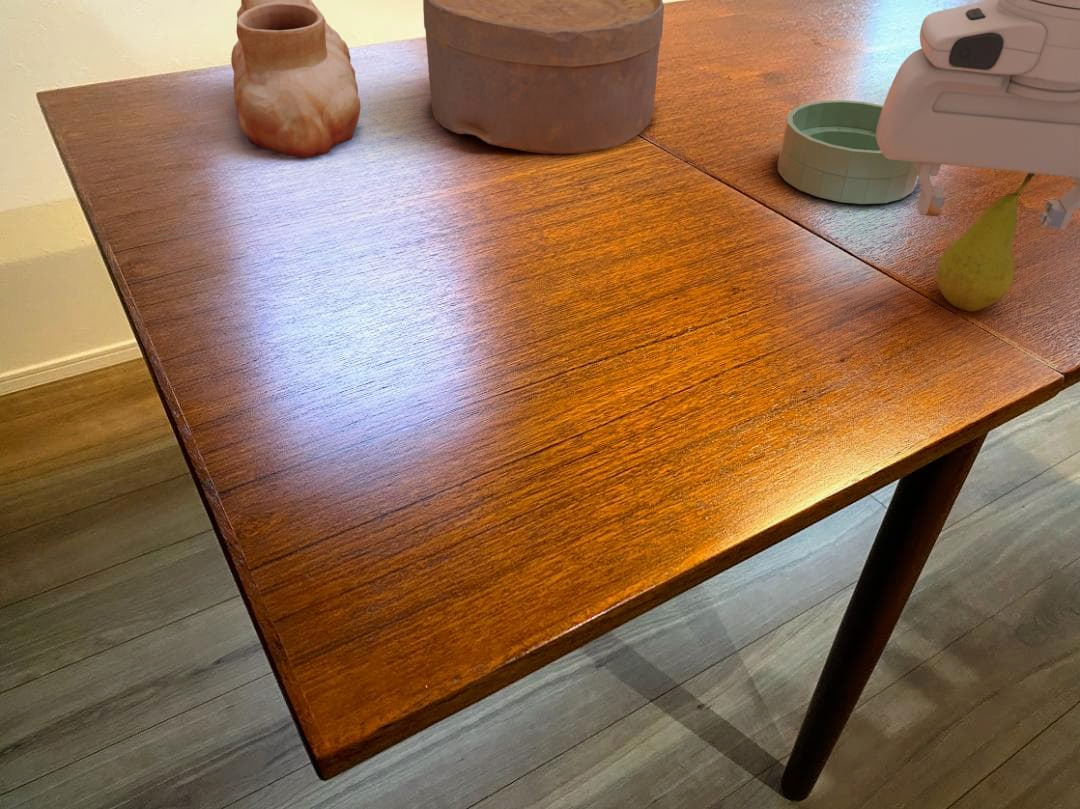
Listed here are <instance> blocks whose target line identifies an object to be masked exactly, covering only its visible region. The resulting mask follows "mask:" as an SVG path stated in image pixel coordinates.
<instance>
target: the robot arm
mask: <svg viewBox="0 0 1080 809" xmlns="http://www.w3.org/2000/svg"><path fill="white" fill-rule="evenodd" d="M919 44H920V47H921V48H919V49H917V50H915V51H913V52H912V53H910V55H908V56H907V57H906V58H905V60H903V62H902V63H901V65H900V66H899V68H898V70H897V72H896V74H895V76H894V78H893V80H892V83H891V85H890V88H889V90H888V92H887V95H886V97H885V100H884V103H883V108H882V111H881V114H880V117H879V120H878V124H877V128H876V140H877V144H878V146H879V148H880V150H881V151H882V153H883V155H884V156H885V157H886V158H888V159H894V160H904V161H914V162H915V166H916V170H917V173H918V180H919V183H920V186H921V191H920V193H919V194H920V195H919V198H918V201H917V206H916V211H917V213H918V215H919V216H924V217H925V216H927V217H939V216H940V215H941V212H942V210H941V208H942V207H943V206H944V203H945V201H946V197H945V196H946V195H945V194H944V190H943V189H942V188H939V187H933V185H932V182H931V179H930V177H937V176H938V175H939V172H940V169H941V165H947V166H955V167H966V168H967V167H968V168H974V169H975V168H976V169H985V170H994V171H1005V172H1015V173H1027V174H1028V173H1035V175H1045V176H1054V177H1055V176H1056V177H1057V176H1058V177H1067V178H1072V180H1073V182H1075V185H1074V186H1073V187H1072V188H1071V189H1069V190H1068V191H1067V192H1066V193H1065V194H1064V195H1063V196H1062V197H1060V198H1059V200H1057V199H1047V201H1046V203H1045V206H1044V209H1045V210H1044V211H1043V212H1042V213H1041V216H1040V223H1041V225H1043V226H1042V227H1043V229H1048V230H1058V231H1065V230H1066V229H1067V228H1068V226H1069V223H1070V222H1071V219H1072V218H1073V214H1074V213H1075V212H1077V211H1078V210H1080V0H983V1H978V2H973V3H970V4H966V5H965V4H964V5H961V6H956V7H952V8H946V9H943V10H937V11H934V12H931V13H929V14H928V15H926V16H925V17H924V19H923V21H922V23H921V26H920V31H919Z"/></svg>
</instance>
